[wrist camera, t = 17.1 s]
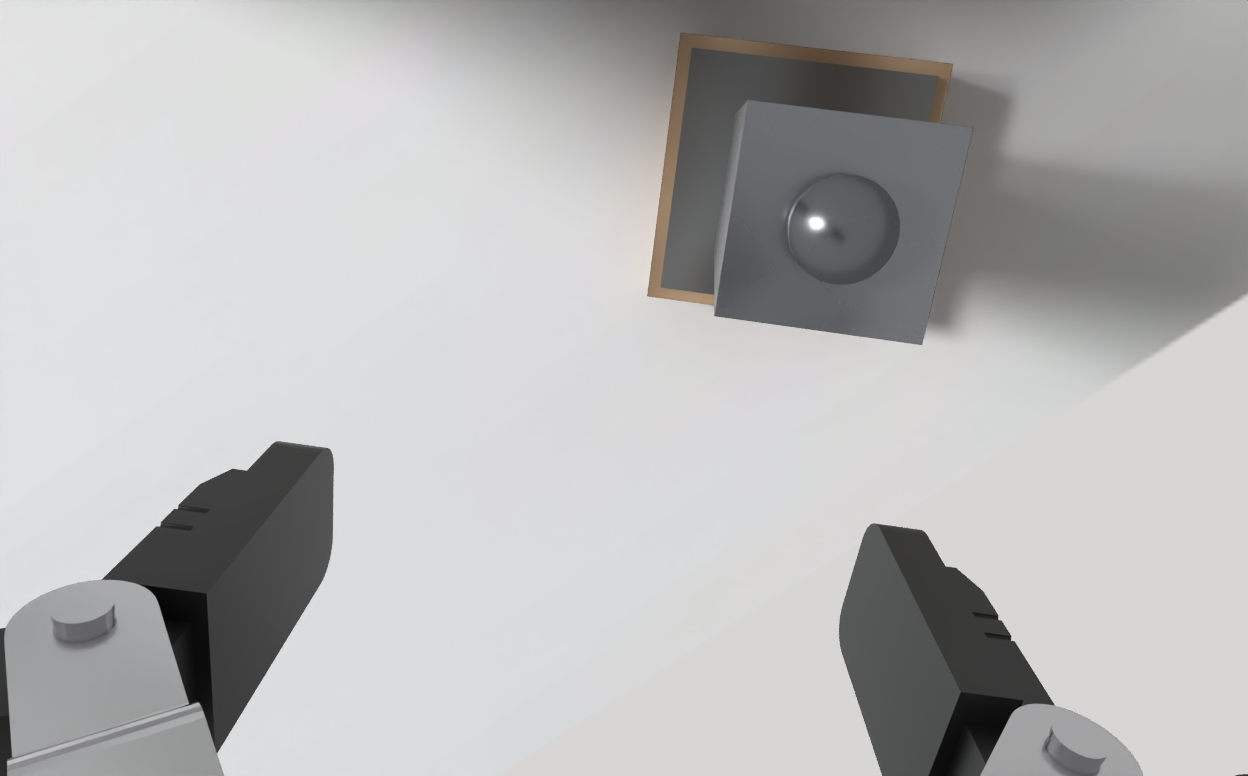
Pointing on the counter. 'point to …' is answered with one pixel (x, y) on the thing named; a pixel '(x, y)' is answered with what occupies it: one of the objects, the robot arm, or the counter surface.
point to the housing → (835, 219)
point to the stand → (703, 122)
